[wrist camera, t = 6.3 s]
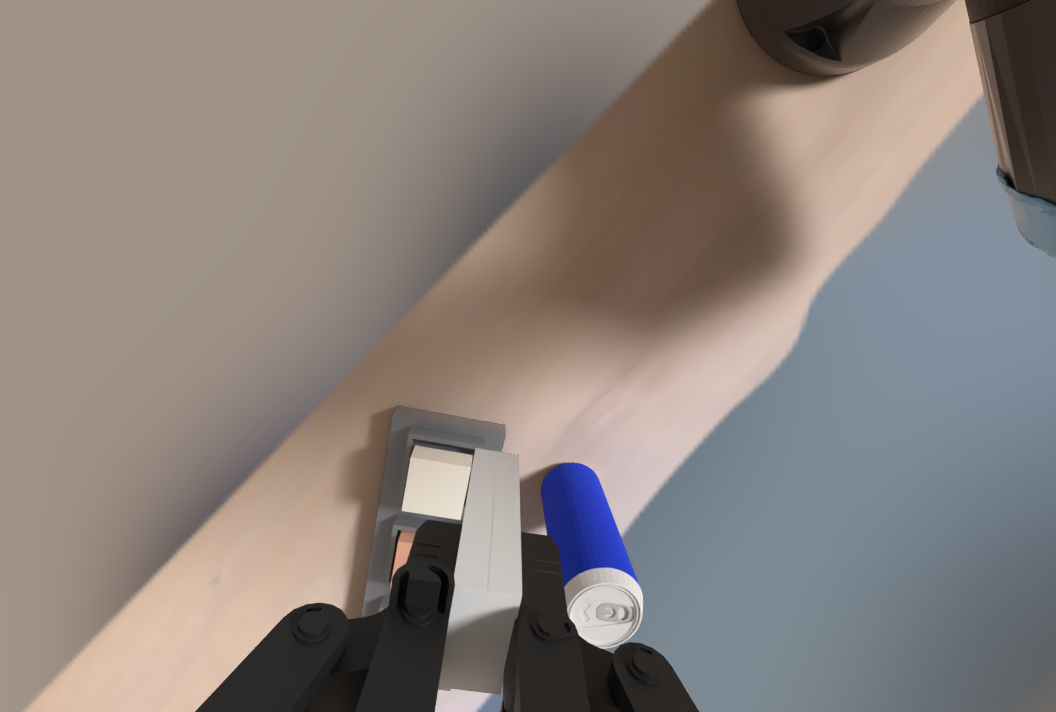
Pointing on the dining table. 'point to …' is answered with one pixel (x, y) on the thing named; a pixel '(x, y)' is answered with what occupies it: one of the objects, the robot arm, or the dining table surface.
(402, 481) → the console
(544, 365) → the dining table surface
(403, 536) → the terracotta button
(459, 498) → the cream button
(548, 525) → the beverage can
